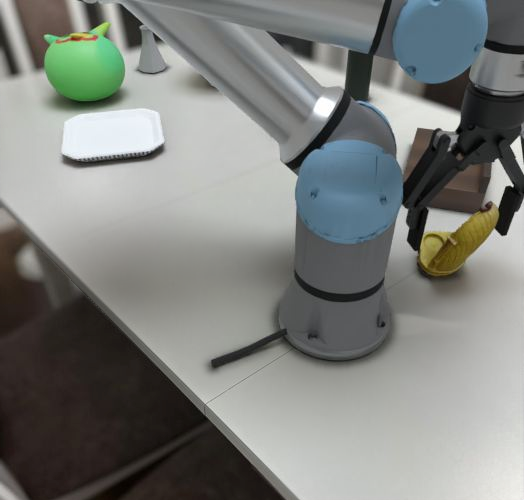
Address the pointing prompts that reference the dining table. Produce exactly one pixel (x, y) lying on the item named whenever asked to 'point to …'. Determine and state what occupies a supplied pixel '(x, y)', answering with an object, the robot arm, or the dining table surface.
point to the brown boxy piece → (461, 186)
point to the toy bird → (84, 64)
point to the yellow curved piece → (456, 243)
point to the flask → (150, 53)
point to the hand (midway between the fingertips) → (456, 238)
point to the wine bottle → (358, 75)
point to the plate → (112, 135)
